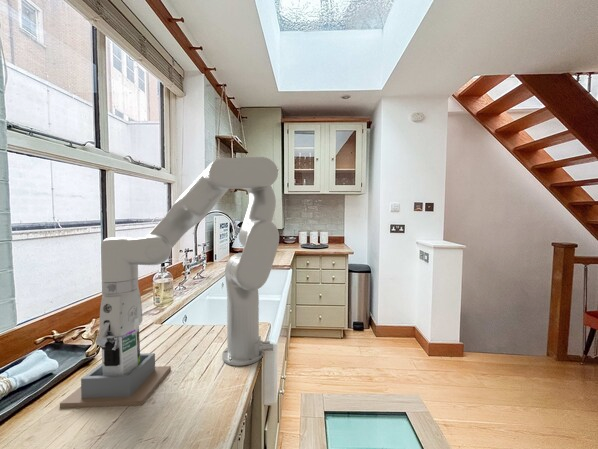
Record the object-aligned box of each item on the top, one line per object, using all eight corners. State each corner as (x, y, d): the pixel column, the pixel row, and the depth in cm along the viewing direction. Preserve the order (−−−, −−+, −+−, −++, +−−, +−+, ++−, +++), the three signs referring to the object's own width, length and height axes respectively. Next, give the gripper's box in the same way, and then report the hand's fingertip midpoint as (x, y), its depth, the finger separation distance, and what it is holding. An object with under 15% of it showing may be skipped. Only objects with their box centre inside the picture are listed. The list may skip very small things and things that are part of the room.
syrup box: (122, 385, 62) (120, 325, 62) (101, 382, 63) (100, 323, 63) (141, 371, 67) (140, 316, 67) (122, 369, 69) (120, 315, 68)
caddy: (170, 369, 72) (170, 350, 72) (142, 405, 58) (141, 381, 58) (104, 371, 72) (104, 351, 72) (59, 407, 58) (59, 383, 58)
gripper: (112, 296, 56) (113, 377, 57) (154, 278, 74) (155, 341, 74) (76, 296, 56) (78, 378, 56) (127, 279, 73) (128, 341, 74)
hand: (122, 356), depth 65 cm, fingers closed on syrup box, 6 cm apart
